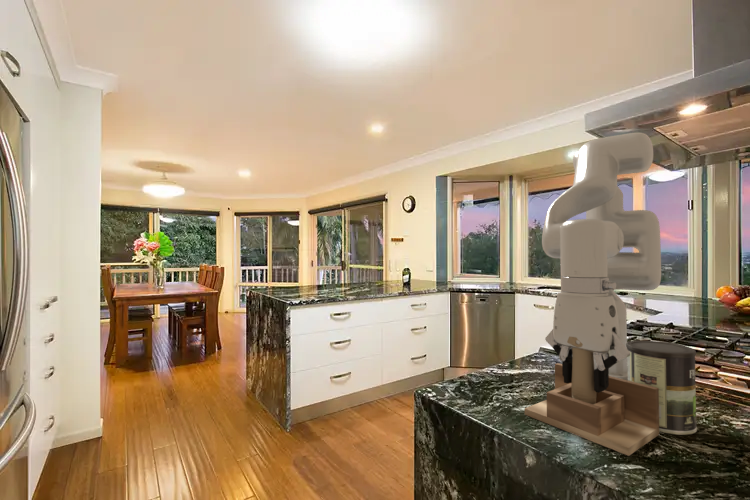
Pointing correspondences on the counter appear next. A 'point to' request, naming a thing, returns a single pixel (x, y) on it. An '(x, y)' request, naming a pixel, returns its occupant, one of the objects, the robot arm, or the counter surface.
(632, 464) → the counter surface
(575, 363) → the handle
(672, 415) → the coffee can
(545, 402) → the wooden box holder
